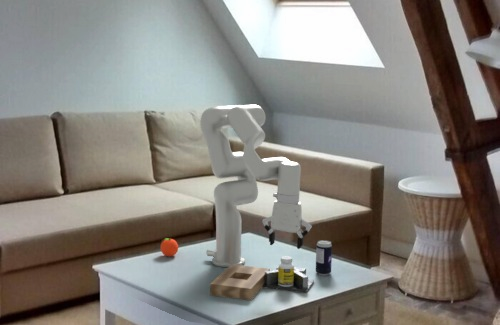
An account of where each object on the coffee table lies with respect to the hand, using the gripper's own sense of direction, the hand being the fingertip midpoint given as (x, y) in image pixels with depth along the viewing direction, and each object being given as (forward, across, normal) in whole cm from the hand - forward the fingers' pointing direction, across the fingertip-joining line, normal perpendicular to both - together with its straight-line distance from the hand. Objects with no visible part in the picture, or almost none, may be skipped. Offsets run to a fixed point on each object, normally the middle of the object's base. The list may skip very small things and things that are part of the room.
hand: (285, 245), depth 257 cm
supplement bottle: (+14, +1, -1) cm, 14 cm away
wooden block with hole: (+15, -14, -6) cm, 21 cm away
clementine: (+17, -52, +18) cm, 58 cm away
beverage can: (+15, +10, +18) cm, 26 cm away
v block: (+15, +1, +2) cm, 15 cm away
